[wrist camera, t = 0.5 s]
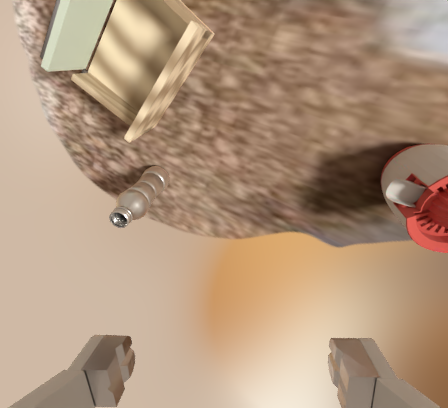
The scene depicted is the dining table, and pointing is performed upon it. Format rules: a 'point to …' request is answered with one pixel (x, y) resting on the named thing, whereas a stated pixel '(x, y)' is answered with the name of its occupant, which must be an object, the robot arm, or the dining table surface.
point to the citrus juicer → (420, 193)
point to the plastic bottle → (139, 196)
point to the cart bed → (144, 60)
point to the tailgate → (73, 33)
